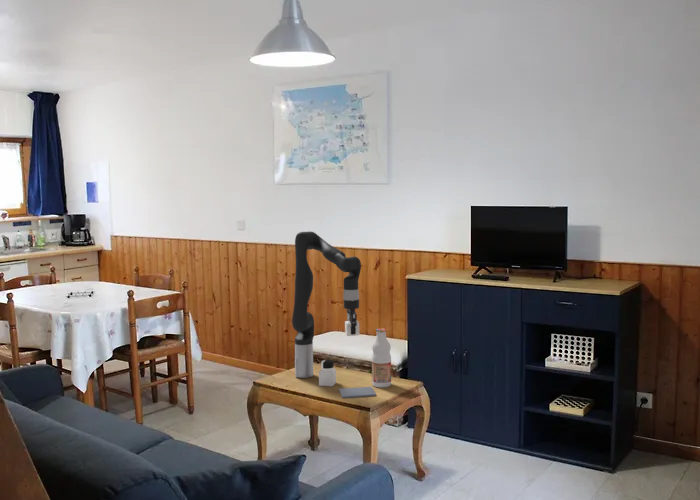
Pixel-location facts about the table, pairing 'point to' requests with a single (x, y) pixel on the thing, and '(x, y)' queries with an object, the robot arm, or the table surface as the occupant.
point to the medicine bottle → (327, 373)
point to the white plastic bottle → (381, 360)
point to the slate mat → (357, 392)
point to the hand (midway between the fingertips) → (352, 332)
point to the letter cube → (348, 329)
